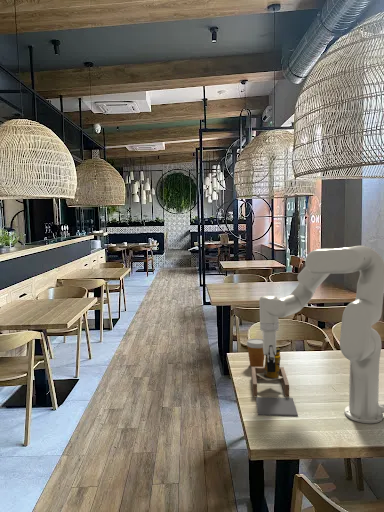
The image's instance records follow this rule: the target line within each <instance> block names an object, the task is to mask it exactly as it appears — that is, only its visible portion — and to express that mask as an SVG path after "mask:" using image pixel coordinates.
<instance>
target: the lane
mask: <svg viewBox="0 0 384 512" xmlns="http://www.w3.org/2000/svg"><path fill="white" fill-rule="evenodd" d="M250 368H251V370H250V371H251V386H252V396H253V397H258V380H265V379H264V378H262V377H260V376H258V375H257V374H260V373H264V369H265V366H263V367H251V366H250ZM279 376H281V377H283V378H280V379H279V380H280V382H281V386H282V390H283V393H284V398H290V382H289V380H288V377H287V373H286V370H285V367H284V366H280V368H279Z"/></svg>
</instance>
